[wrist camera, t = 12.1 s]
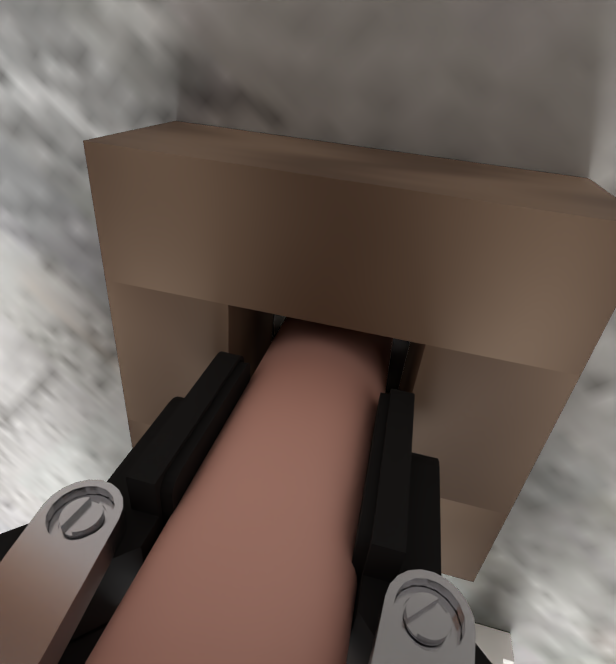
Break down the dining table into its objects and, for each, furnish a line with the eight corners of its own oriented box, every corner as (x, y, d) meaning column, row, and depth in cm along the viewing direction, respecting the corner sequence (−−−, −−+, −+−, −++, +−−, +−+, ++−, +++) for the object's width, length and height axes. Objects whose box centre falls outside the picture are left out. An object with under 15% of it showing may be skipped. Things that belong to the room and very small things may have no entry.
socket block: (588, 178, 11) (656, 227, 8) (465, 479, 17) (473, 581, 13) (175, 120, 13) (83, 141, 9) (192, 413, 18) (139, 489, 15)
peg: (403, 295, 13) (309, 1031, 3) (382, 385, 15) (280, 1041, 5) (291, 274, 14) (-98, 850, 4) (284, 364, 15) (10, 917, 5)
